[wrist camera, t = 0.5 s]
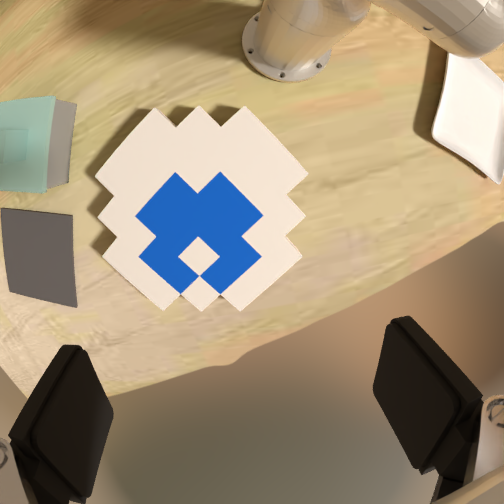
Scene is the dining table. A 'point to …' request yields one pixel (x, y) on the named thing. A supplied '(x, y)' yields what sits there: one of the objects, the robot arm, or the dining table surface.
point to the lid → (25, 143)
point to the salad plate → (472, 115)
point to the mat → (39, 255)
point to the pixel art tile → (201, 208)
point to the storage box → (60, 143)
